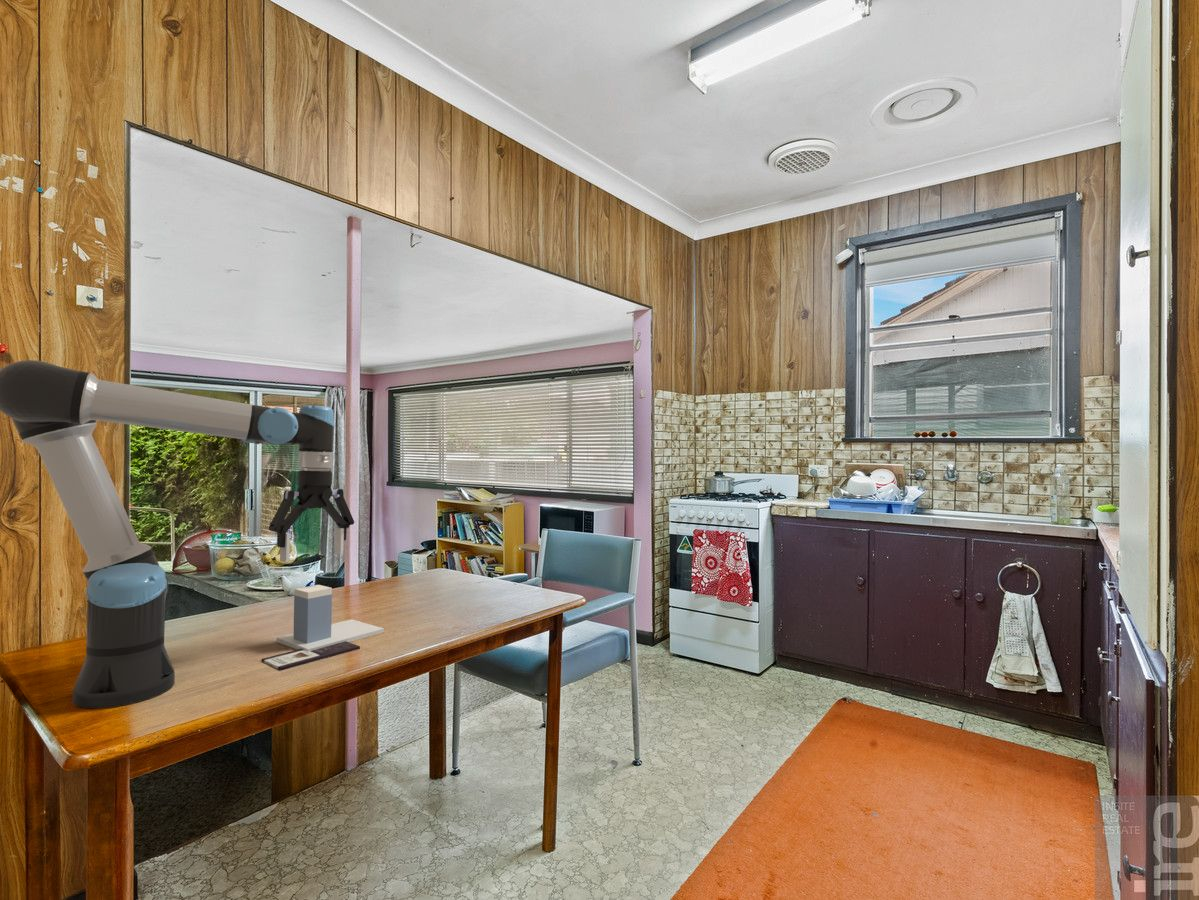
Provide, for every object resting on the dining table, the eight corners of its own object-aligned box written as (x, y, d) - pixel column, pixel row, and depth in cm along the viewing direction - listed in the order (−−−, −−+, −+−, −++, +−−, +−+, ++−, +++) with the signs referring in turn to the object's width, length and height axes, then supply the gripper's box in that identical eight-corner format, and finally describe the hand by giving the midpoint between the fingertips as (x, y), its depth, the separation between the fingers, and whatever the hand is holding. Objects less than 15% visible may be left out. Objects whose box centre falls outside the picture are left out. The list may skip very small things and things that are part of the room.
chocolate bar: (360, 646, 139) (281, 667, 125) (359, 650, 139) (280, 672, 125) (339, 639, 145) (261, 658, 130) (339, 642, 145) (261, 663, 130)
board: (308, 653, 135) (308, 649, 135) (276, 641, 143) (276, 637, 143) (383, 632, 152) (384, 628, 152) (351, 622, 160) (351, 619, 160)
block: (307, 643, 139) (308, 592, 139) (293, 638, 143) (294, 588, 143) (331, 637, 144) (331, 587, 144) (317, 632, 148) (318, 584, 148)
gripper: (271, 470, 131) (267, 566, 131) (370, 470, 152) (367, 553, 152) (254, 469, 135) (250, 562, 135) (352, 469, 156) (350, 549, 156)
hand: (312, 557), depth 143 cm, fingers open, 13 cm apart
